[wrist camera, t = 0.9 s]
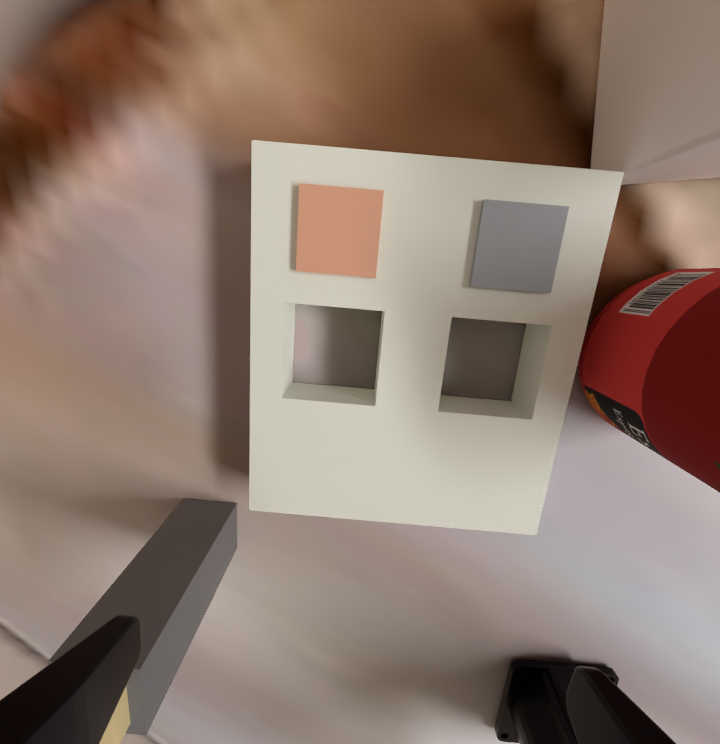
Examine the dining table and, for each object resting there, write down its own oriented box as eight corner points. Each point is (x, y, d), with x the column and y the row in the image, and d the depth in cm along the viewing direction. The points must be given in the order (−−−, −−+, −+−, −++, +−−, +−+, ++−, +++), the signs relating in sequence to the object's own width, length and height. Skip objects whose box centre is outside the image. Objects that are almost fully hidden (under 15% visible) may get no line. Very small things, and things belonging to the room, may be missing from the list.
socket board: (515, 504, 20) (538, 539, 17) (263, 482, 20) (247, 514, 17) (585, 187, 16) (629, 169, 13) (269, 160, 16) (249, 136, 13)
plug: (236, 547, 21) (131, 764, 12) (185, 543, 21) (39, 757, 12) (236, 503, 21) (124, 697, 11) (183, 498, 21) (25, 688, 11)
